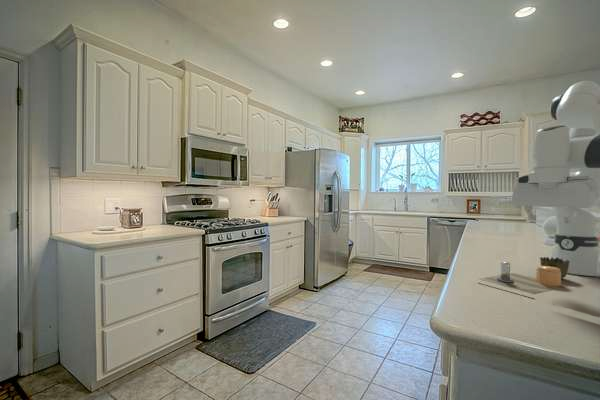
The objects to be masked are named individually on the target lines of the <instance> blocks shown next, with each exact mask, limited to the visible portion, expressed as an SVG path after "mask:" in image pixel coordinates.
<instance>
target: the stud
mask: <svg viewBox="0 0 600 400" xmlns="http://www.w3.org/2000/svg"><path fill="white" fill-rule="evenodd" d="M510 274H511V262H509V261H500V275H501V277H498V278H497V280H498V281H500V282H505V283H514V280H513V279H510Z"/></svg>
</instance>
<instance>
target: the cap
mask: <svg viewBox="0 0 600 400" xmlns="http://www.w3.org/2000/svg"><path fill="white" fill-rule="evenodd" d="M535 278H536V282H538V283H539V284H543V285H548V286H561V284H562V279H561V272H560V269H559V268H556V267H550V266H541V265H538V266H537V268H536V277H535Z"/></svg>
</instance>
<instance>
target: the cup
mask: <svg viewBox="0 0 600 400" xmlns="http://www.w3.org/2000/svg"><path fill="white" fill-rule="evenodd" d="M539 259H540V260H539V261H540V266H550V267H556V268H559V269H560V272H561V280H562V279H564V278H566V276H567V275H568V273H567V272H568V267H569V262H570V261H568V260H566V262H565V261H564V262H563V260H562V259H559V258H555V259H553V258H552V257H551V259H550V257H548V256H547V257H545V256H543V257H541V256H540V257H539Z"/></svg>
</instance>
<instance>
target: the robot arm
mask: <svg viewBox="0 0 600 400" xmlns="http://www.w3.org/2000/svg"><path fill="white" fill-rule="evenodd" d="M549 113H550V116H551V118H552V119H553V120H555V121H557V122H558V123H559V124H561V125H556V126H547V127H543V128H540V129H538V130H536V132H535V134H534V135H535V136H534V141H533V150H532V151H533V152H532V157H533V160H534V164H533V166H532V172H529V173H526V174H524V175H521V176H518V177H515V180H514V182H515V184H516V185H515V186H514V187H513V190H512V194H511V195H512V196H511V197H512V198H511V203H512V204H513V205H514V207H524V208H523V209H524V211H525V212H526V214H527V216H528V221H537V215H536V214H534V213H533V209H534V207H536V208H537V207H541V208H543V207H544V208H552V210H553V212H554V215H555V222H556V223H555V224H556V225H555V227H556V233H555V234H554V243H555V244H554V245H553V246H552V247H550V253H549V259H551V257H552V258H553V259H555V258H559V259H562V260H563V262H564V261H565V262H566V260H568V261H570V262H569V267H568V272H567V274H570V275H571V274H572V275H577V276H578V275H579V276H586V277H587V276H590V277H600V248H599V243H600V237H599V236H596V229H597V228H596V227H597V226H596V224H597V222H596V220H597V219H596V217H595V215H594V214H593V213H591V212H590V211H588V210H586V209H592V208H593V207H595V205H596V201H600V85H599V84H598V83H597V82H594V81H592V80H581V81H579V82H576V83H574V84H572V85H571V86H570V87H569V88H568V89H567V90H566V92H565V93H563V94H560V95H558V96H556V97H555V98H553V99H552V101H551V103H550V106H549ZM573 169H576V170H577V169H579V170H578V171H573V172H571V170H573Z"/></svg>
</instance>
